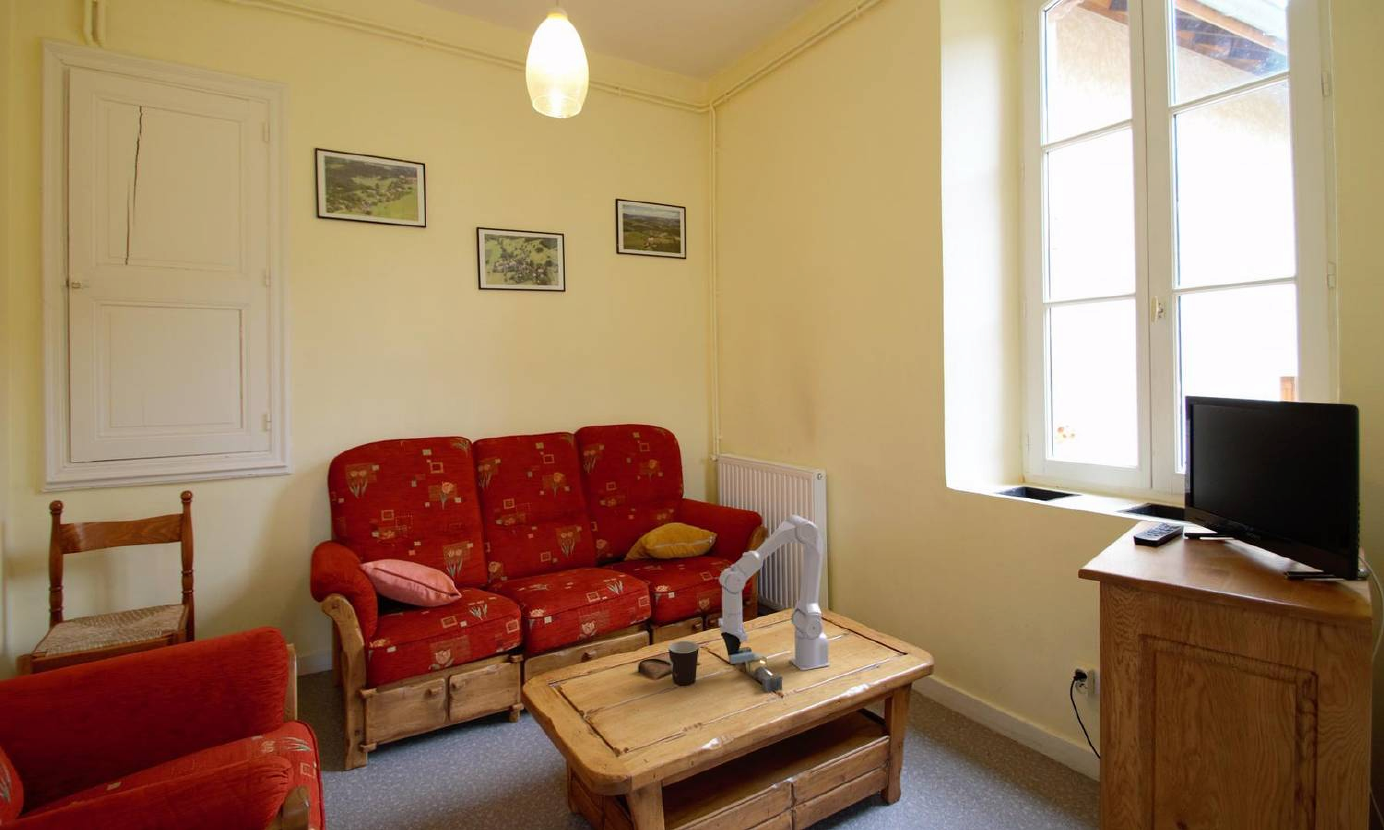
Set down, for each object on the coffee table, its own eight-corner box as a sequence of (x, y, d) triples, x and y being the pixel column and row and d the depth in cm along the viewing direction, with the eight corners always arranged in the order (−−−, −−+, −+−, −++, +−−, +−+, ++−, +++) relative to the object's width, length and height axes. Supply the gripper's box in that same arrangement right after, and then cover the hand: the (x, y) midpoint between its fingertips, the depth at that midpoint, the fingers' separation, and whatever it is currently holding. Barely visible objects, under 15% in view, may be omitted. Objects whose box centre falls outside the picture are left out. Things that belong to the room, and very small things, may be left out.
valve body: (732, 661, 203) (731, 646, 202) (750, 658, 205) (750, 643, 204) (763, 693, 182) (763, 677, 182) (783, 689, 184) (783, 673, 184)
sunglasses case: (654, 681, 190) (647, 658, 192) (642, 686, 195) (635, 663, 197) (703, 663, 201) (695, 641, 203) (690, 668, 206) (683, 647, 208)
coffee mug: (696, 689, 185) (695, 654, 184) (665, 687, 186) (665, 651, 186) (703, 671, 196) (703, 637, 196) (675, 669, 198) (674, 635, 197)
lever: (759, 655, 195) (759, 649, 195) (763, 659, 192) (763, 653, 192) (728, 660, 192) (728, 654, 192) (732, 665, 189) (732, 658, 189)
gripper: (708, 605, 197) (709, 650, 198) (731, 621, 184) (731, 670, 185) (730, 602, 200) (731, 646, 201) (753, 617, 187) (754, 665, 188)
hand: (732, 657), depth 193 cm, fingers closed
